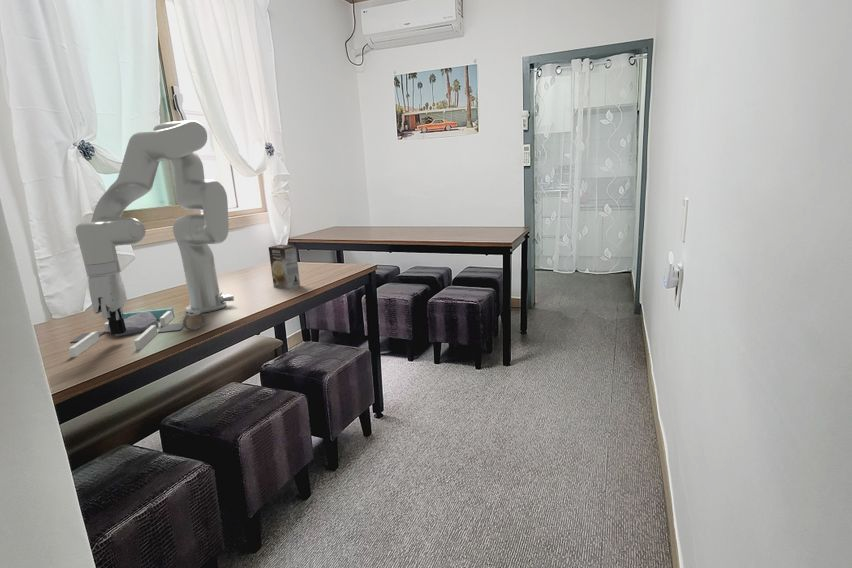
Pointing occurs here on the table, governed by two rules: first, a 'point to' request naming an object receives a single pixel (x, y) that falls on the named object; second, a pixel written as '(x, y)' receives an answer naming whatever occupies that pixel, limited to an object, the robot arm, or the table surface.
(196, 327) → the wristwatch
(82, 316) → the table surface
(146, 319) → the stone block
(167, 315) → the trap channel
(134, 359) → the table surface
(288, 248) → the coffee box
